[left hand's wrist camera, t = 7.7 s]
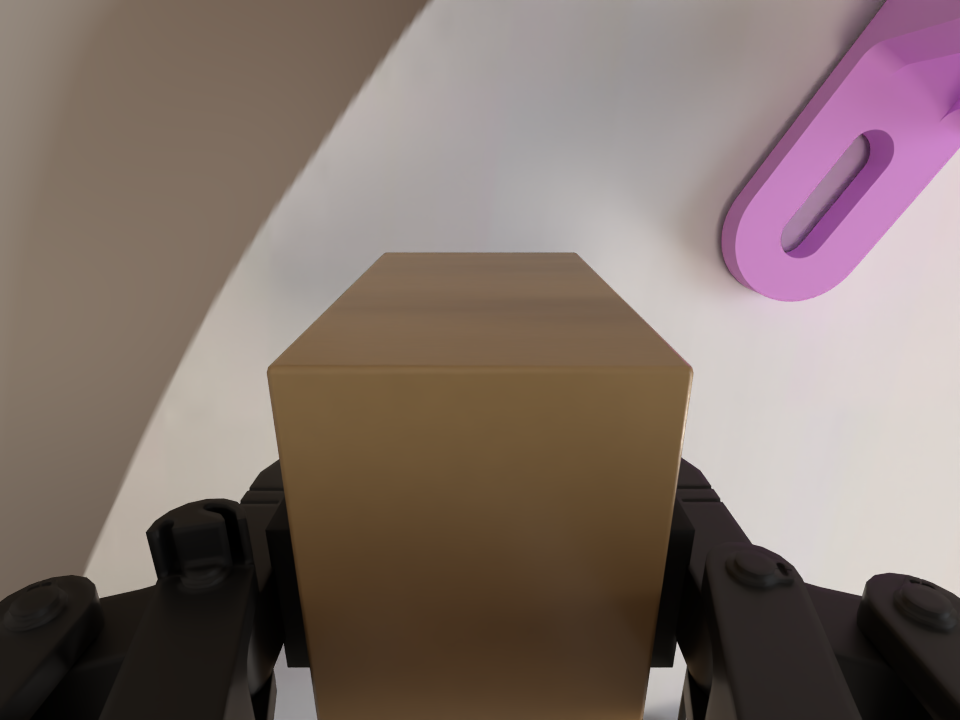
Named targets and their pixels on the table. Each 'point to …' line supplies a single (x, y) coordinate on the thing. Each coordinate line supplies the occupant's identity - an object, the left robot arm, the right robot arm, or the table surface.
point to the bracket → (826, 136)
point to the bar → (480, 489)
